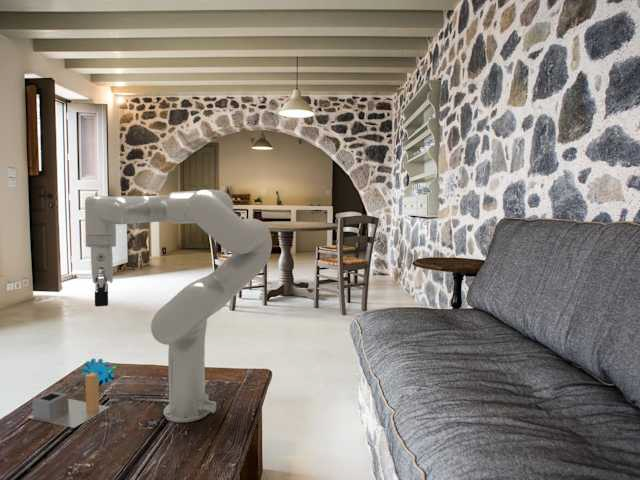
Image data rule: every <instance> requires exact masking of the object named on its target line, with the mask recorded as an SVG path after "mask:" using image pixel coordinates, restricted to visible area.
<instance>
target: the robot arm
mask: <svg viewBox="0 0 640 480" xmlns="http://www.w3.org/2000/svg"><path fill="white" fill-rule="evenodd" d="M84 201H85V202H84V206H85V207H84V209H85V210H84V215H85V216H84V217H85V219H84V223H85V226H84V227H85V247H87V248H90V267H91V274H92V277H91V278H92V283H93V284H95V291H94V307H96V308H97V307H108V305H109V283H110V284H112V283H113V279H114V277H113V275H114V273H113V271H114V270H113V267H114V266H113V265H114V264H113V263H114V261H113V260H114V259H113V258H114V257H113V248H115V247H117V225H129V224H140V223H141V224H142V223H155V222H158V223H160V222H163V223H165V222H167V223H169V222H170V223H172V224H173V225H174V224H175V225H182V224H183V225H185V224H196V225H197V226H198V227H199V228H201V230H202V231H204V233H206V235H208V236H209V237H211V238H212V239H213V240H214V241H215V242H216V243H217V244H218V245H220V247H222V248H223V249H224V250H226V251H228V252H229V253H231V254H232V255H231V256H229V257H228V258H227V259H225V261H223V262H222V263H221V265H220V266H218V267H217V268H216V269H215V270H213V271H212V272H211V273H210V274H208V275H206V276H204V277H201V278H199V279H197V280H194V281H192V282H190V283H189V284H188V285H186V286H185V287H183V288H182V289H181V290H180V291H178V293H177V294H175V295H174V296H173V297H172V298H171V299H170V300H169V301H168V302H167V303H165V304H164V305H163V306H162V307H161V308H160V309H159V310H158V311H156V312H155V314H154V316H153V317H152V320H151V323H150V330H151V334H152V336H153V338H154V339H155V340H156V341H157V342H158V343H159V344H162V345H168V351H167V352H168V354H167V355H168V358H167V359H168V363H167V364H168V366H167V367H168V404H166V406H165V407H164V409H163V411H162V412H163V417H164V419H166V421H170V422H173V423H190V422H195V421H198V420H201V419H203V418H205V417H206V416H208V415H209V414H210V413H211V414H214V413H215V412H216V410H217V404H218V403H217V401H215V400H210V399H209V397H210V396H209V394H207V393H206V378H205V375H206V373H205V371H206V370H205V368H206V366H205V365H206V363H205V356H206V354H205V351H206V350H205V348H206V347H205V346H206V345H205V344H206V332H207V326H208V320H209V318H210V317H212V316H213V315H214V314H216V313H217V312H219V311H220V310H221V309H223V308H224V307H225V306H226V305H228V303H229V302H230V301H231V300H232V299H233V298H234V297H235V296H236V295H237V294H238V293H241V291H242V290H243V289H244V288H246V286H247V285H249V283H250V282H252V281H253V280H254V279H255V278H256V277H257V276H258V275H259V274H260V273H261V272H262V271H263V270H264V268H265V267H266V265H267V263H268V261H269V260H270V257H271V252H272V249H273V248H272V247H273V239H272V234H271V232H270V228H269V227H268V226H267V224H266V223H265V222H264V221H262V220H260V219H258V218H251V217H250V218H241V217H240V216H239V215H238V214H237V213H236V212H235V211H233V210H234V202H233V199H232V197H231V196H230V195H229V194H228V193H227V192H225V191H222V190H219V189H201V190H192V191H189V190H186V191H185V190H184V191H171V192H169V193H168V194H165V195H164V194H163V195H141V196H139V195H126V196H125V195H124V196H123V195H122V196H121V195H120V196H119V195H118V196H109V195H108V196H106V195H90V196H89V195H88V196H87V197H86V198H85V200H84ZM108 282H109V283H108Z"/></svg>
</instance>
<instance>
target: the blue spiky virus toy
mask: <svg viewBox="0 0 640 480" xmlns="http://www.w3.org/2000/svg"><path fill="white" fill-rule="evenodd" d="M96 361H97V363H95V362H96ZM103 362H104V359H103V358H99V359H98V360H97V359H96V358H92V359H90V361H89V360H87V361H85V362H84V366H83V367H82V368H81V371H82V372H83V373H82V378H84V379H85V375H87V374H90V373H97V374H98V386H99V385H100V382H101V386H104V385H106V384H107V383H111V382H113V380H112V379H113V378H114V377H115V373H113V371H114V370H115V369H116V368H117V367H116V365H113V366H111V367H109V366H110V362H108V361H106V362H105V363H104V364H102V363H103ZM106 382H107V383H106Z"/></svg>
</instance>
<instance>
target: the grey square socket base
mask: <svg viewBox="0 0 640 480" xmlns="http://www.w3.org/2000/svg"><path fill="white" fill-rule="evenodd" d="M31 402H32V407H31V408H32V414H31V415H28V416H27V417H26V418H27V419H32V420H37V421H41V422H46V423H51V424H55V425H59V426H64V427H70V428H73V429H74V428H76V427H79V425H81V424H83V423H85V422H86V421H89V420H90V419H92V418H94V417H95V416H97V415H98V414H100V413H103V411H105V410H107V409H108V408H109V409H110V406H108V405H104V404H103V405H102V404H99V409H98V410H96V411H94V412H89V411H86V401H83V400H78V399H73V398H69V394H68V393H64V392H58V391H52V390H51V391H49V392H47V393H44V394H42V395H40V396H38V397H36V398H34V399H32V401H31Z"/></svg>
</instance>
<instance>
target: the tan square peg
mask: <svg viewBox="0 0 640 480" xmlns="http://www.w3.org/2000/svg"><path fill="white" fill-rule="evenodd" d="M84 385H85V402H86V411H89V412H94V411H96V410H98V409H99V405H100V394H99V385H98V374H97V373H90V374H89V373H87V375H85V378H84Z"/></svg>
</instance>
